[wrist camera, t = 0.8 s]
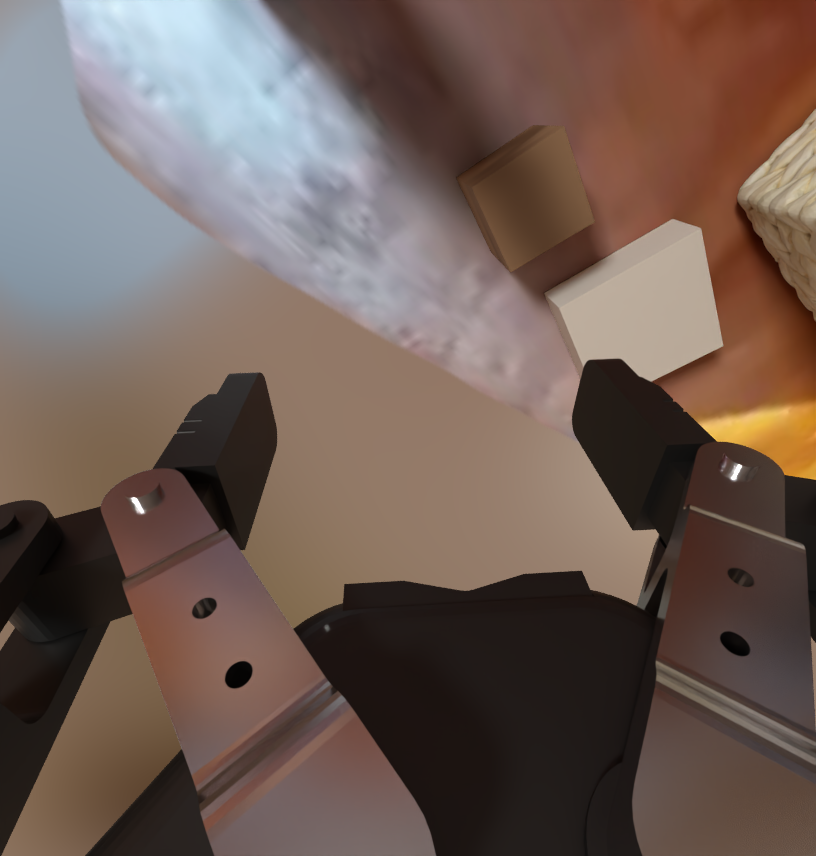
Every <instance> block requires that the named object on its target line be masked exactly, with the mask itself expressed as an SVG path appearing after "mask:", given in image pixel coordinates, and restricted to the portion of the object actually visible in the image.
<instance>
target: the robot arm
mask: <svg viewBox="0 0 816 856" xmlns="http://www.w3.org/2000/svg"><path fill="white" fill-rule="evenodd" d="M572 425H573V431H574V434H575V436H576V438H577V440H578V441H579V443H580V444H581V446H582V448H583V449H584V451H585V453H586V454H587V456H588V458H589V459H590V461H591V463H592V464H593V466H594V468H595V469H596V471H597V472H598V474H599V476H600V477H601V479H602V481H603V482H604V484H605V486H606V487H607V489H608V491H609V492H610V494H611V496H612V497H613V499H614V500H615V502H616V504H617V505H618V507H619V509H620V510H621V512H622V514H623V515H624V517H625V519H626V520H627V522H628V524H629V525H630V527H631V528H632V530H650V529H656V530H657V532H658V533H659V537H658V539H657V541H656V543H655V545H654V548H653V552H652V555H651V558H650V562H649V566H648V569H647V572H646V576H645V579H644V583H643V586H642V590H641V593H640V597H639V600H638V603H637V606H635V605H633V604H631V603H629V602H627V601H625V600H622V599H620V598H617V597H614V596H612V595H608V594H605V593H601V592H598V591H593V590H590V588H589V586H588V584H587V581H586V579H585V577H584V575H583V572H582V571H569V572H553V573H536V574H523V575H520V576H517V577H513V578H510V579H506V580H503V581H500V582H497V583H493V584H490V585H487V586H484V587H480V588H477V589H474V590H470V591H460V590H454V589H448V588H442V587H436V586H431V585H424V584H418V583H413V582H407V581H393V582H375V583H358V584H345V585H344V598H343V603H342V604H339V605H336V606H333V607H331V608H328V609H326V610H324V611H321V612H319V613H317V614H315V615H314V616H312V617H310V618H308V619H307V620H305V621H304V622H302V623H301V624H299V625H298V626H297V627H295V628H294V629H293V628H292V627H291V625H290V624H289V622H288V621H287V619H286V618H285V616H284V615H283V613H282V612H281V611H280V609H279V607H278V606H277V604H276V603H275V602H274V600H273V599H272V597H271V595H270V594H269V593H268V591H267V590H266V588H265V587H264V585H263V584H262V582H261V581H260V579H259V578H258V576H257V575H256V573H255V572H254V570H253V569H252V567H251V566H250V564H249V563H248V561H247V560H246V558H245V557H244V555H243V554H242V552H241V551H240V550H245V548H246V545H247V541H248V538H249V534H250V531H251V528H252V525H253V522H254V519H255V515H256V512H257V509H258V506H259V503H260V499H261V496H262V493H263V490H264V486H265V483H266V480H267V477H268V474H269V470H270V467H271V464H272V460H273V457H274V454H275V451H276V446H277V428H276V423H275V419H274V414H273V410H272V406H271V402H270V398H269V393H268V389H267V385H266V381H265V378H264V376H263V374H262V373H236V374H229V375H228V376H227V378H226V379H225V381H224V383H223V385H222V386H221V388H220V390H219V392H218V393H217V394H210V395H207V396H206V397H205V398H203V399H202V400H201V401H199V402H198V403H197V404H195V405H194V406H193V407H192V408H191V410H190V411H189V413H188V414H187V416H186V417H185V419H184V423H182V424H181V425H180V427H179V429H178V430H177V434H175V435H174V436H173V438H172V440H171V441H170V443H169V444H168V446H167V447H166V449H165V450H164V452H163V453H162V455H161V456H160V458H159V460H158V461H157V463H156V464H155V466H154V468H153V469H151V470H147V471H143V472H140V473H137V474H134V475H132V476H130V477H128V478H126V479H124V480H123V481H121V482H119V483H118V484H117V485H115V486H114V487H113V488H112V489H111V490H110V491H109V492H108V493H107V494H106V495H105V497H104V498H103V500H102V503H101V506H100V507H97V508H93V509H89V510H86V511H82V512H78V513H74V514H70V515H66V516H63V517H59V518H54V517H53V515H52V514H51V513H50V511H49V510H48V508H47V507H46V506H45V505H44V504H43V503H41V502H38V501H32V500H23V501H15V502H11V503H7V504H4V505H1V506H0V632H1V631H2V629H3V628H4V626H5V624H6V623H7V622H8V620H9V621H10V622H11V624H12V625H13V626H14V627H15V629H14V630H13V632H12V634H11V635H10V637H9V638H8V640H7V641H6V643H5V644H4V646H3V647H2V649H1V651H0V856H1V855H2V853H3V850H4V848H5V846H6V844H7V842H8V840H9V838H10V836H11V833H12V831H13V829H14V827H15V825H16V823H17V821H18V818H19V816H20V814H21V812H22V810H23V807H24V806H25V803H26V801H27V799H28V797H29V795H30V793H31V790H32V788H33V786H34V784H35V782H36V780H37V778H38V775H39V773H40V771H41V769H42V767H43V765H44V763H45V760H46V758H47V756H48V754H49V752H50V750H51V748H52V745H53V743H54V741H55V739H56V737H57V734H58V733H59V730H60V728H61V726H62V724H63V722H64V720H65V718H66V715H67V713H68V711H69V709H70V707H71V705H72V702H73V700H74V698H75V696H76V694H77V692H78V690H79V688H80V685H81V683H82V681H83V679H84V677H85V675H86V672H87V670H88V668H89V666H90V664H91V661H92V659H93V657H94V655H95V653H96V651H97V649H98V647H99V645H100V642H101V640H102V638H103V636H104V634H105V632H106V629H107V627H108V625H109V623H110V621H112V620H115V619H118V618H121V617H125V616H127V615H130V614H133V616H134V619H135V622H136V624H137V627H138V630H139V632H140V635H141V638H142V641H143V643H144V646H145V649H146V652H147V654H148V657H149V660H150V663H151V666H152V668H153V671H154V673H155V676H156V679H157V682H158V685H159V687H160V690H161V693H162V696H163V698H164V701H165V704H166V707H167V709H168V712H169V715H170V718H171V720H172V723H173V726H174V729H175V731H176V734H177V737H178V740H179V742H180V745H181V747H182V749H181V750H180V751H179V753H178V754H177V755H176V756H175V757H174V758H173V759H172V760H171V761H170V763H169V764H168V765H167V766H166V767H165V768H164V769H163V770H162V771H161V773H160V774H159V775H158V776H157V777H156V778H155V779H154V780H153V781H152V782H151V784H150V785H149V786H148V787H147V788H146V789H145V790H144V791H143V793H142V794H141V795H140V796H139V797H138V798H137V799H136V800H135V801H134V802H133V804H132V805H131V806H130V807H129V808H128V809H127V810H126V811H125V812H124V813H123V815H122V816H121V817H120V818H119V819H118V820H117V821H116V822H115V823H114V824H113V826H112V827H111V828H110V829H109V830H108V831H107V832H106V833H105V835H104V836H103V837H102V838H101V839H100V840H99V841H98V842H97V843H96V844H95V845H94V847H93V848H92V849H91V850H90V851H89V852H88V853H87V854H86V855H85V856H816V727H815V709H814V690H813V672H812V653H811V637H812V639H813V640H814V641H815V642H816V480H813V479H806V478H800V477H793V476H787V475H784V473H783V471H782V469H781V468H780V467H779V465H777V464H776V463H775V462H774V461H773V460H772V459H770V458H769V457H767V456H766V455H764V454H762V453H760V452H758V451H756V450H754V449H751V448H749V447H746V446H743V445H739V444H735V443H729V442H717V441H716V440H715V439H714V438H713V437H712V436H711V435H709V434H708V433H707V432H706V431H705V430H704V429H703V428H702V427H701V426H700V425H699V424H698V423H697V422H696V421H695V420H694V419H693V418H692V417H691V416H690V415H689V414H688V413H687V412H683V408H682V407H681V406H680V405H679V404H678V403H677V402H673V399H672V398H671V397H670V396H669V395H668V394H667V393H666V392H665V391H664V390H663V389H662V388H661V387H660V386H658V385H656V384H654V383H652V382H650V381H648V380H647V379H645V378H643V377H639V376H638V375H637V374H636V373H635V372H634V371H633V370H632V369H631V368H630V367H629V366H628V365H627V364H626V363H625V362H624V361H623V360H622V359H619V358H617V359H593V360H588V361H587V362H586V363H585V365H584V368H583V371H582V375H581V379H580V384H579V388H578V392H577V396H576V401H575V405H574V409H573V414H572Z"/></svg>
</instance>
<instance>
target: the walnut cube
mask: <svg viewBox="0 0 816 856" xmlns="http://www.w3.org/2000/svg"><path fill="white" fill-rule="evenodd" d="M456 179H457V181H458V183H459V185H460V187H461V189H462V191H463V193H464V196H465V198H466V200H467V202H468V204H469V206H470V208H471V210H472V213H473V215H474V217H475V219H476V221H477V223H478V225H479V227H480V229H481V232H482V234H483V236H484V238H485V240H486V242H487V244H488V246H489V249H490V251H491V252H492V253H493V254H494V255H495V256H496V258H497V259H498V260H499V261H500V262H501V263H502V264H503V265H504V266H505V267H506V268H507V269H508V270H509V271H510V272H512V271H514V270H516V269H517V268H519V267H521V266H522V265H524V264H526V263H527V262H529V261H531V260H532V259H534V258H536V257H537V256H539V255H541V254H542V253H544V252H546V251H547V250H549V249H551V248H552V247H554V246H556V245H557V244H559V243H561V242H562V241H564V240H566V239H567V238H569V237H571V236H572V235H574V234H576V233H577V232H579V231H581V230H582V229H584V228H586V227H587V226H589V225H591V224H592V223H594V222H595V221H594V217H593V214H592V211H591V208H590V205H589V202H588V199H587V196H586V193H585V190H584V186H583V183H582V180H581V177H580V174H579V171H578V168H577V165H576V162H575V159H574V155H573V152H572V149H571V146H570V143H569V140H568V137H567V134H566V131H565V128H564V126H539V125H533V126H531V127H530V128H528V129H527V130H525V131H524V132H522V133H521V134H520V135H518V136H517V137H515V138H514V139H512V140H511V141H509V142H508V143H506V144H505V145H503V146H502V147H500V148H499V149H497V150H496V151H495V152H493V153H492V154H490V155H489V156H487V157H486V158H484V159H483V160H481V161H480V162H478V163H477V164H475V165H474V166H472V167H471V168H470V169H468V170H467V171H465V172H464V173H462V174H461V175H459V176H458V177H456Z"/></svg>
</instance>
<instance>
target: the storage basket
mask: <svg viewBox="0 0 816 856" xmlns="http://www.w3.org/2000/svg"><path fill="white" fill-rule="evenodd" d="M737 200H738V203H739V204H740V206H741V207H742V208H743V209H744V210H745V212H746V213H747V217H748V219H749V220H750V221H751V222H752V225H753V229H754V231H755V232H756V233H757V234H758V235H759V236H760V237H761V238H762V239H763V243H764V245H765V247H766V249H767V250H768V252H769V253H770V254H771V255H772V256H773V257H774V258H775V261H776V262H779V268H780V271H781V274H782V276H783V277H784V279H785V280H786V281H787V282H788V283H789V284H790V285H791V286H793V287H794V288H795V289H796V291H797V296H798V298H799V299H800V301H801V302H802V303H803V305H804V306H805V307H806V308H807V309H808V310H810V311H812V312H813V317H814V320H815V321H816V109H815V110H814V111H813V112H812V113H811V115H810V116H809V117H808V118H807V119H806V120H805V122H804V124H803V125H802V127H801V128H799V129H798V130H797V131H795V132H794V133H793V134H792V135H790V136H789V137H788V138H787V139H786V140H785V141H784V142H783V143H782V144H781V145H780V146H779V147H778V148H777V149H776V150H775V151H774V152H773V153H772V155H771V156H770V158H769V159H768V161H766V162H765V163H763V164H762V165H761V166H760V167H759V168H758V169H757V170H756V171H755V172H754V173H752V175H751V176H750V177H749V178H748V179H747V180H746V181H745V183H744V184H743V185H742V186H741V188H740V190H739V193H738V195H737Z"/></svg>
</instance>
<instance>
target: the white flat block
mask: <svg viewBox="0 0 816 856" xmlns="http://www.w3.org/2000/svg"><path fill="white" fill-rule="evenodd" d="M544 295H545V297H546V299H547V302H548V304H549V306H550V309H551V311H552V313H553V316H554V318H555V320H556V323H557V325H558V328H559V330H560V332H561V335H562V337H563V339H564V342H565V344H566V346H567V349H568V351H569V353H570V356H571V358H572V360H573V363H574V365H575V367H576V370H577V372H578V375H579V377H580V379H581V375H582V371H583V368H584V365H585V363H586V362H587V361H588V360H593V359H617V358H619V359H622V360H623V361H624V362H625V363H626V364H627V365H628V366H629V367H630V368H631V369H632V370H633V371H634V372H635V373H636V374H637V375H638V376H639V377H643V378H645V379H647V380H648V381H650V382H651V381H653V380H655V379H657V378H659V377H661V376H663V375H665V374H668V373H670V372H672V371H674V370H676V369H678V368H680V367H682V366H684V365H686V364H688V363H690V362H692V361H694V360H696V359H698V358H700V357H702V356H704V355H706V354H708V353H710V352H712V351H714V350H716V349H718V348H720V347H722V346H723V342H722V337H721V332H720V326H719V321H718V316H717V310H716V305H715V300H714V295H713V289H712V284H711V279H710V274H709V268H708V263H707V258H706V252H705V247H704V242H703V237H702V231H701V228H699V227H696V226H693V225H690V224H687V223H683V222H680V221H677V220H674V219H672V220H670V221H668V222H666V223H665V224H663V225H661V226H659V227H658V228H656V229H654V230H653V231H651V232H649V233H647V234H646V235H644V236H642V237H640V238H639V239H637V240H635V241H633V242H632V243H630V244H628V245H627V246H625V247H623V248H621V249H620V250H618V251H616V252H614V253H613V254H611V255H609V256H607V257H606V258H604V259H602V260H600V261H599V262H597V263H595V264H594V265H592V266H590V267H588V268H587V269H585V270H583V271H581V272H580V273H578V274H576V275H574V276H573V277H571V278H569V279H568V280H566V281H564V282H562V283H561V284H559V285H557V286H555V287H554V288H552V289H550V290H548V291H547V292H545V293H544Z"/></svg>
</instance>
